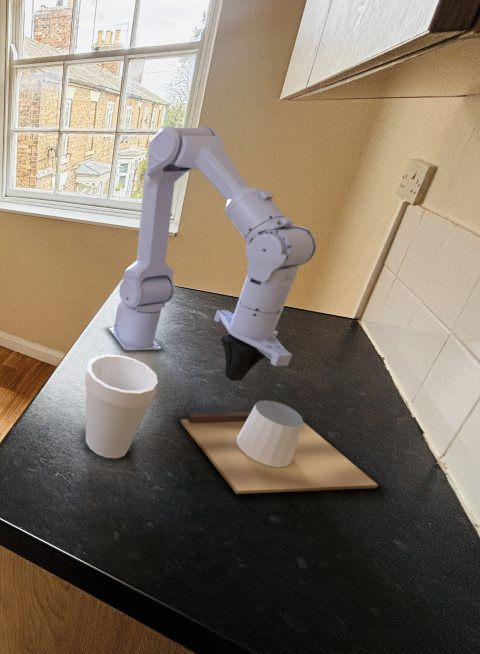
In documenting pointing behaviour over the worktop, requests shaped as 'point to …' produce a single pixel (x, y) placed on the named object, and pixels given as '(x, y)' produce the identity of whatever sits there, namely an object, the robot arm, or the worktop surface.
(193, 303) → the worktop surface
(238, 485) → the board
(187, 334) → the worktop surface
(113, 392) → the foam cup
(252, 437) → the white faceted cup
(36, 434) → the worktop surface
